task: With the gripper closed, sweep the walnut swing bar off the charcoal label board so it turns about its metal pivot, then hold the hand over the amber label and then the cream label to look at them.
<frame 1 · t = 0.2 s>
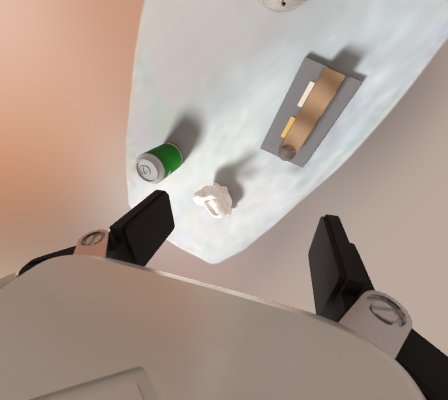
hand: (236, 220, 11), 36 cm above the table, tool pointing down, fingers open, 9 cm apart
swing bar: (304, 121, 35), point 4 cm above the table, hinge at 0.0°
label board: (303, 118, 38), on the table
soda can: (172, 154, 52), on the table
rabbit: (219, 191, 54), on the table
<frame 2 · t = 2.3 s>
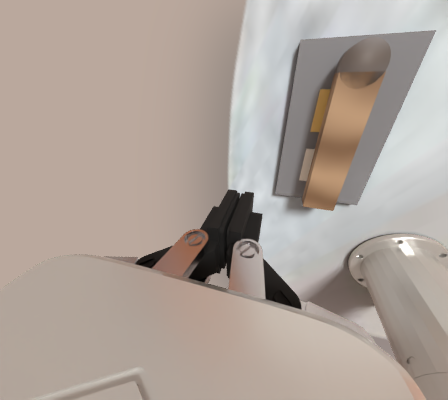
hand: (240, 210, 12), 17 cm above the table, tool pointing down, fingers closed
swing bar: (337, 140, 20), point 4 cm above the table, hinge at 0.0°
label board: (331, 133, 23), on the table
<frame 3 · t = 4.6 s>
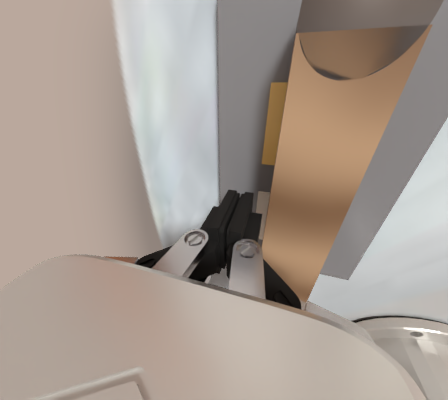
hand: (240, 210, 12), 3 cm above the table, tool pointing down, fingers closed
swing bar: (306, 190, 10), point 4 cm above the table, hinge at 0.0°, touching gripper
label board: (301, 164, 12), on the table
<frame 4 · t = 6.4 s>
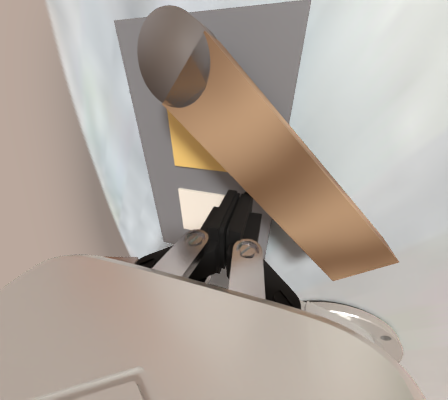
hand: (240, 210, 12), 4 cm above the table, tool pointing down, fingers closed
swing bar: (270, 163, 10), point 4 cm above the table, hinge at 47.4°, touching gripper
label board: (211, 166, 15), on the table
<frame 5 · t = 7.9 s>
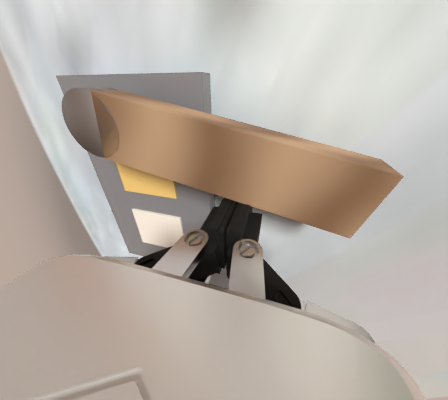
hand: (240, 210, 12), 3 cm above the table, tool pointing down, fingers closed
swing bar: (207, 153, 10), point 3 cm above the table, hinge at 78.6°, touching gripper
label board: (159, 190, 17), on the table
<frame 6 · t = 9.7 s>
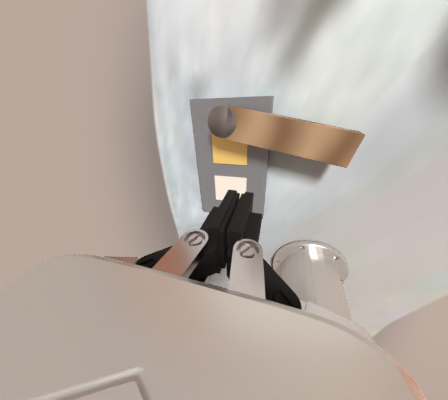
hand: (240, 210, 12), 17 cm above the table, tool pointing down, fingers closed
swing bar: (276, 133, 21), point 4 cm above the table, hinge at 78.6°
label board: (232, 163, 28), on the table
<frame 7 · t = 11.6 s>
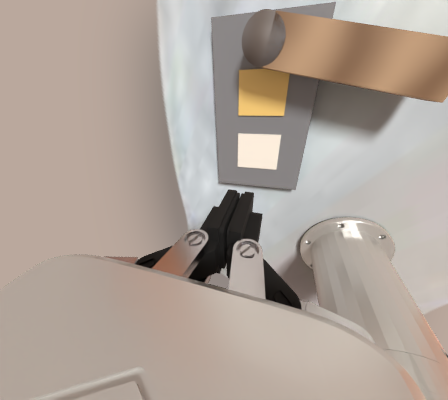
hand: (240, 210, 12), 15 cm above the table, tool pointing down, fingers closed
swing bar: (341, 55, 15), point 4 cm above the table, hinge at 78.6°
label board: (261, 116, 22), on the table
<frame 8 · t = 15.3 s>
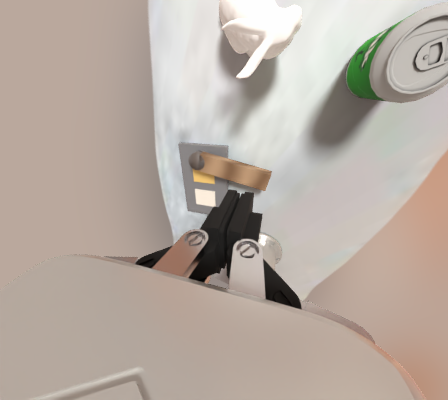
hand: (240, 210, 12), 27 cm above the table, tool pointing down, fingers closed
swing bar: (228, 169, 37), point 4 cm above the table, hinge at 78.6°
label board: (206, 181, 44), on the table
soda can: (373, 68, 26), on the table
rabbit: (261, 35, 28), on the table
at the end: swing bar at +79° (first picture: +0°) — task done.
